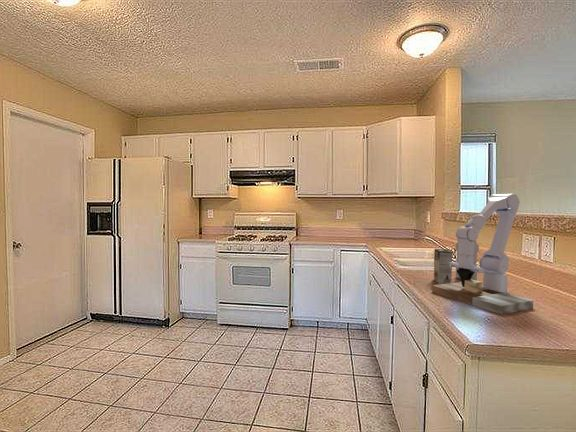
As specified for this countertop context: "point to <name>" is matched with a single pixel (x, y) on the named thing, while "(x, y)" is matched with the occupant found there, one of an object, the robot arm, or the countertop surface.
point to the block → (473, 286)
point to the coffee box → (442, 266)
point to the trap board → (484, 298)
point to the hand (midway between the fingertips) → (465, 286)
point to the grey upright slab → (476, 249)
